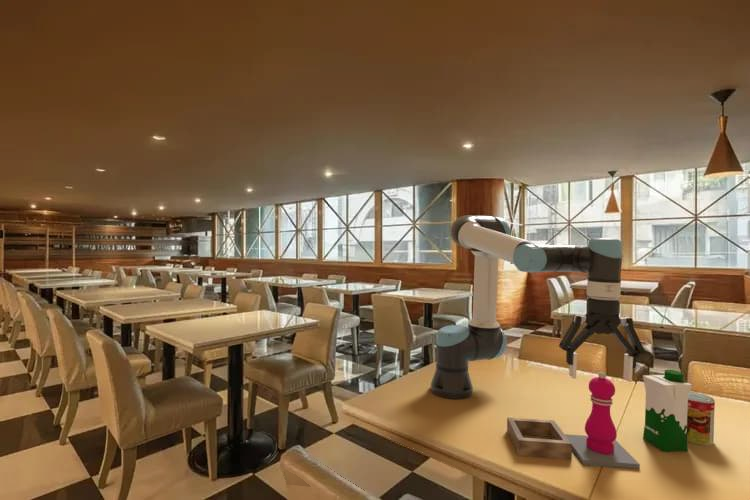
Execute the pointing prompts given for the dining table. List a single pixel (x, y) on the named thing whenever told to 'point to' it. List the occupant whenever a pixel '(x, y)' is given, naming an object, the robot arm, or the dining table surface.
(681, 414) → the milk carton
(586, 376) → the dining table surface
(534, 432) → the brown wooden square tray
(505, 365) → the dining table surface
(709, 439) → the canned food
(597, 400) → the pepper mill
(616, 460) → the coaster
